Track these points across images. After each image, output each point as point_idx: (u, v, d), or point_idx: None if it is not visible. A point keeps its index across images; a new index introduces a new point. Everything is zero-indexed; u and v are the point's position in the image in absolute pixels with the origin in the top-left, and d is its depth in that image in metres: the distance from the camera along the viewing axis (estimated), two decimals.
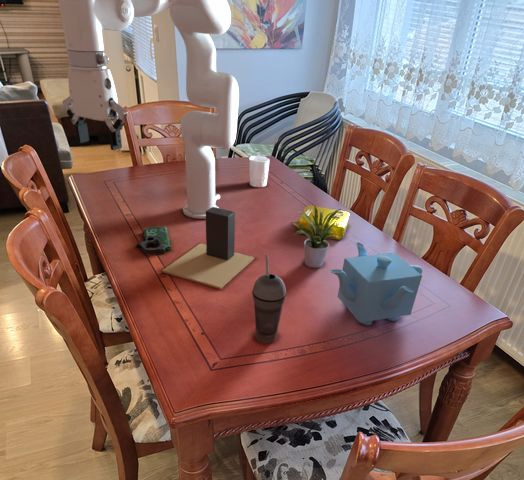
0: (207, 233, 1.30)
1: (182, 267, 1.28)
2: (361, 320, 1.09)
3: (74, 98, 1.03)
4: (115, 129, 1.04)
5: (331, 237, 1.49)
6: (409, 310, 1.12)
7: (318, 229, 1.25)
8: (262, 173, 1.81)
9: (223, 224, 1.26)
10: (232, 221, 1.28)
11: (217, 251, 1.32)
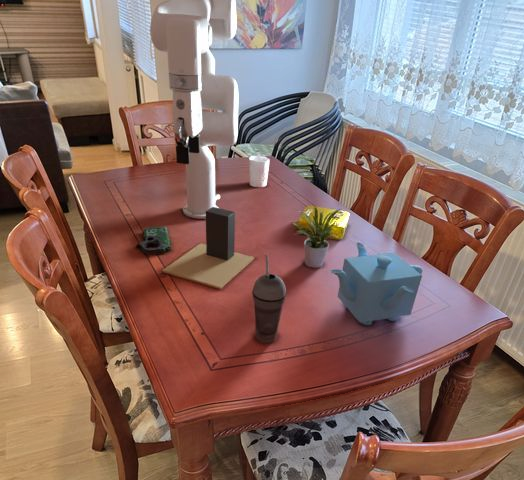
0: (207, 233, 1.30)
1: (182, 267, 1.28)
2: (361, 320, 1.09)
3: None
4: (176, 145, 1.12)
5: (331, 237, 1.49)
6: (409, 310, 1.12)
7: (318, 229, 1.25)
8: (262, 173, 1.81)
9: (223, 224, 1.26)
10: (232, 221, 1.28)
11: (217, 251, 1.32)
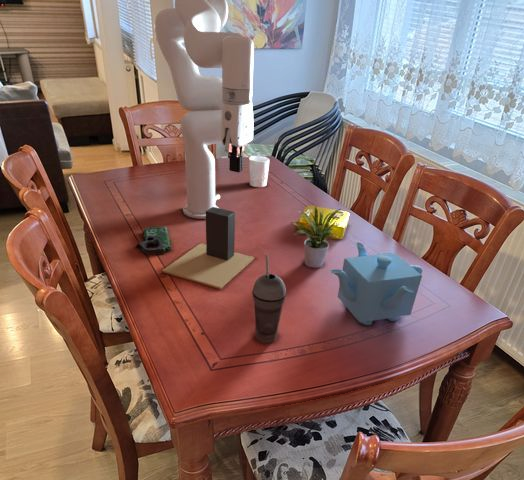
0: (207, 233, 1.30)
1: (182, 267, 1.28)
2: (361, 320, 1.09)
3: None
4: (229, 154, 1.24)
5: (331, 237, 1.49)
6: (409, 310, 1.12)
7: (318, 229, 1.25)
8: (262, 173, 1.81)
9: (223, 224, 1.26)
10: (232, 221, 1.28)
11: (217, 251, 1.32)
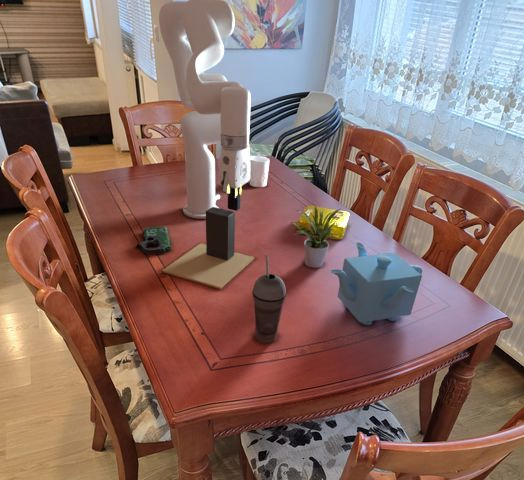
0: (207, 233, 1.30)
1: (182, 267, 1.28)
2: (361, 320, 1.09)
3: None
4: (227, 194, 1.30)
5: (331, 237, 1.49)
6: (409, 310, 1.12)
7: (318, 229, 1.25)
8: (262, 173, 1.81)
9: (223, 224, 1.26)
10: (232, 221, 1.28)
11: (217, 251, 1.32)
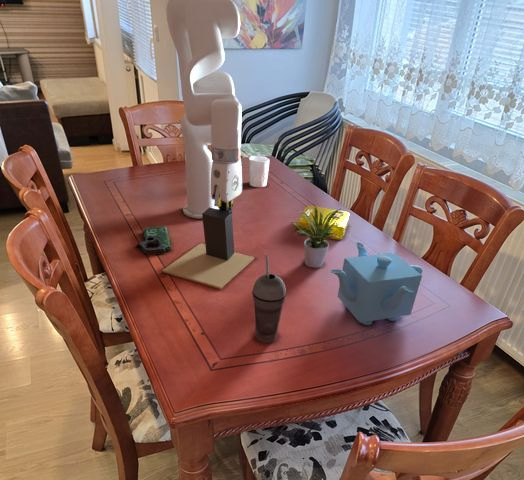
0: (205, 234, 1.30)
1: (182, 267, 1.28)
2: (361, 320, 1.09)
3: None
4: (219, 207, 1.28)
5: (331, 237, 1.49)
6: (409, 310, 1.12)
7: (318, 229, 1.25)
8: (262, 173, 1.81)
9: (220, 226, 1.25)
10: (230, 222, 1.26)
11: (216, 252, 1.32)
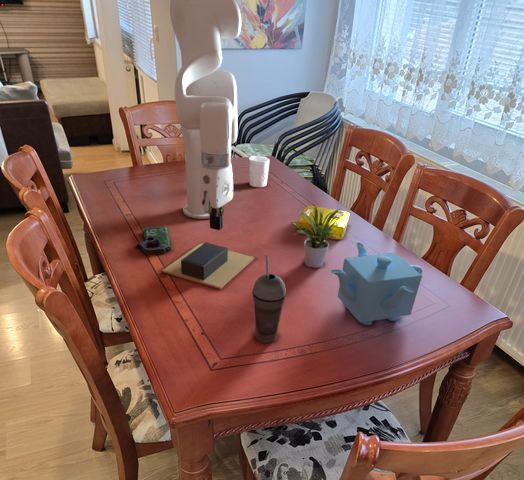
0: None
1: None
2: (361, 320, 1.09)
3: None
4: (209, 213, 1.24)
5: (331, 237, 1.49)
6: (409, 310, 1.12)
7: (318, 229, 1.25)
8: (262, 173, 1.81)
9: None
10: (208, 267, 1.23)
11: None
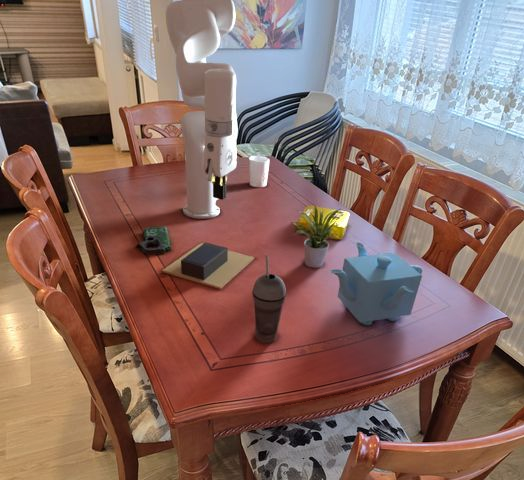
0: None
1: None
2: (361, 320, 1.09)
3: None
4: (212, 182, 1.25)
5: (331, 237, 1.49)
6: (409, 310, 1.12)
7: (318, 229, 1.25)
8: (262, 173, 1.81)
9: None
10: (208, 267, 1.23)
11: None
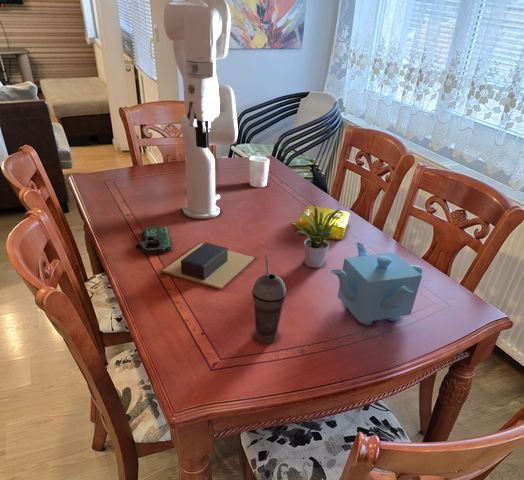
0: None
1: None
2: (361, 320, 1.09)
3: None
4: (195, 129, 1.24)
5: (331, 237, 1.49)
6: (409, 310, 1.12)
7: (318, 229, 1.25)
8: (262, 173, 1.81)
9: None
10: (208, 267, 1.23)
11: None
